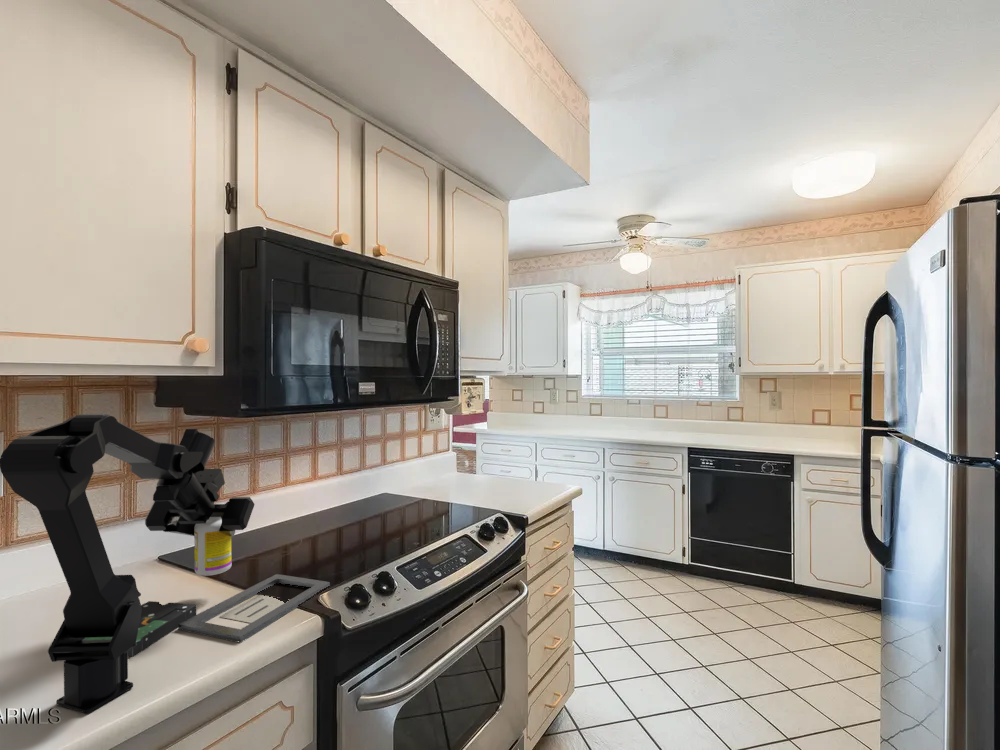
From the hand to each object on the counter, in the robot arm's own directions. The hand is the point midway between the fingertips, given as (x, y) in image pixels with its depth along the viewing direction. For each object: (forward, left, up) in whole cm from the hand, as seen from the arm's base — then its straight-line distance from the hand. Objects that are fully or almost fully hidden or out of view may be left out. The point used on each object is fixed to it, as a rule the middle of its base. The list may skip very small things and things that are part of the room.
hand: (216, 534), depth 109 cm
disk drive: (-17, -1, -13) cm, 21 cm away
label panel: (-2, -13, -12) cm, 18 cm away
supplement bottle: (-1, 0, -7) cm, 7 cm away
